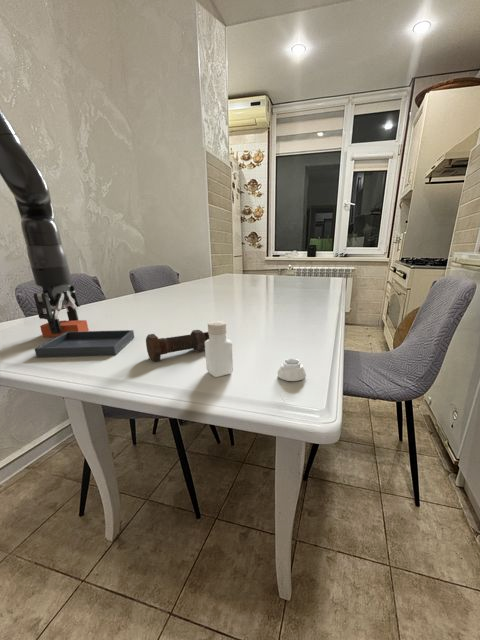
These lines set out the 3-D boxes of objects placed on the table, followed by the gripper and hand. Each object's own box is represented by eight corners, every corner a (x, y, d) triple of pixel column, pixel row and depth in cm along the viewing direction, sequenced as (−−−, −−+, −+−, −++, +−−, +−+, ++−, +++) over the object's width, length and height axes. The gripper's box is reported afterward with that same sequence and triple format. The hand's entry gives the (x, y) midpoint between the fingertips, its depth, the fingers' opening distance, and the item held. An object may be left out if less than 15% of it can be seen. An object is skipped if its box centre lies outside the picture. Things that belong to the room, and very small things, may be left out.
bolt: (218, 353, 68) (152, 366, 60) (209, 338, 70) (145, 349, 62) (223, 336, 64) (153, 347, 56) (214, 321, 66) (146, 329, 58)
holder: (36, 357, 61) (34, 348, 61) (68, 339, 73) (66, 331, 72) (115, 355, 62) (114, 346, 62) (134, 337, 74) (133, 330, 73)
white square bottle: (234, 373, 53) (232, 324, 50) (214, 379, 51) (210, 327, 48) (224, 366, 57) (222, 319, 53) (205, 371, 55) (201, 322, 51)
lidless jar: (273, 380, 51) (301, 385, 49) (273, 364, 50) (302, 369, 48) (282, 369, 55) (308, 373, 53) (283, 355, 54) (309, 358, 52)
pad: (43, 337, 74) (39, 325, 73) (54, 331, 79) (51, 320, 78) (79, 336, 75) (76, 325, 74) (88, 330, 80) (86, 320, 79)
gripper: (51, 263, 77) (66, 322, 83) (12, 267, 64) (33, 337, 70) (80, 262, 78) (93, 321, 83) (48, 267, 64) (66, 336, 70)
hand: (66, 328), depth 77 cm, fingers open, 8 cm apart
